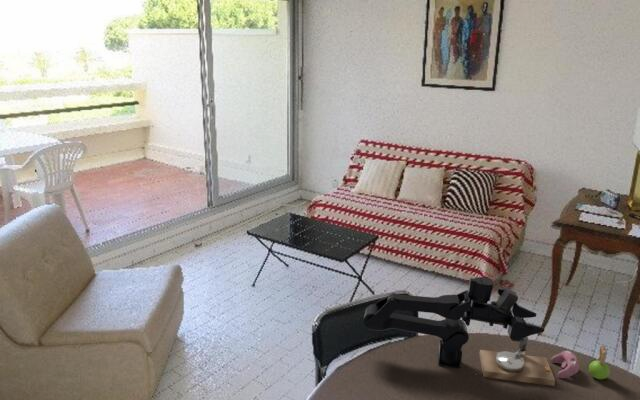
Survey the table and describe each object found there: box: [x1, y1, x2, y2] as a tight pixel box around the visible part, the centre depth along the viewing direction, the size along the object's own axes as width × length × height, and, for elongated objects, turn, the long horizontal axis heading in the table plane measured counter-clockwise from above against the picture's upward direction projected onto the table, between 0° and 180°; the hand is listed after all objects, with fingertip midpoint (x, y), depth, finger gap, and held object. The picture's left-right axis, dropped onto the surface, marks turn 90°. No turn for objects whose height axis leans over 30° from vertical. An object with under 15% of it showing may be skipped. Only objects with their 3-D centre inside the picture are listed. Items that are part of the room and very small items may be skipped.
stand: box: [478, 349, 556, 387], centre depth 155 cm, size 20×12×2 cm, turn 79°
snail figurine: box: [588, 345, 611, 380], centre depth 150 cm, size 5×6×12 cm
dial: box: [496, 336, 529, 372], centre depth 155 cm, size 13×8×6 cm, turn 134°
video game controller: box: [550, 350, 580, 379], centre depth 155 cm, size 10×5×7 cm, turn 169°
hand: (540, 322), depth 151 cm, fingers open, 9 cm apart
